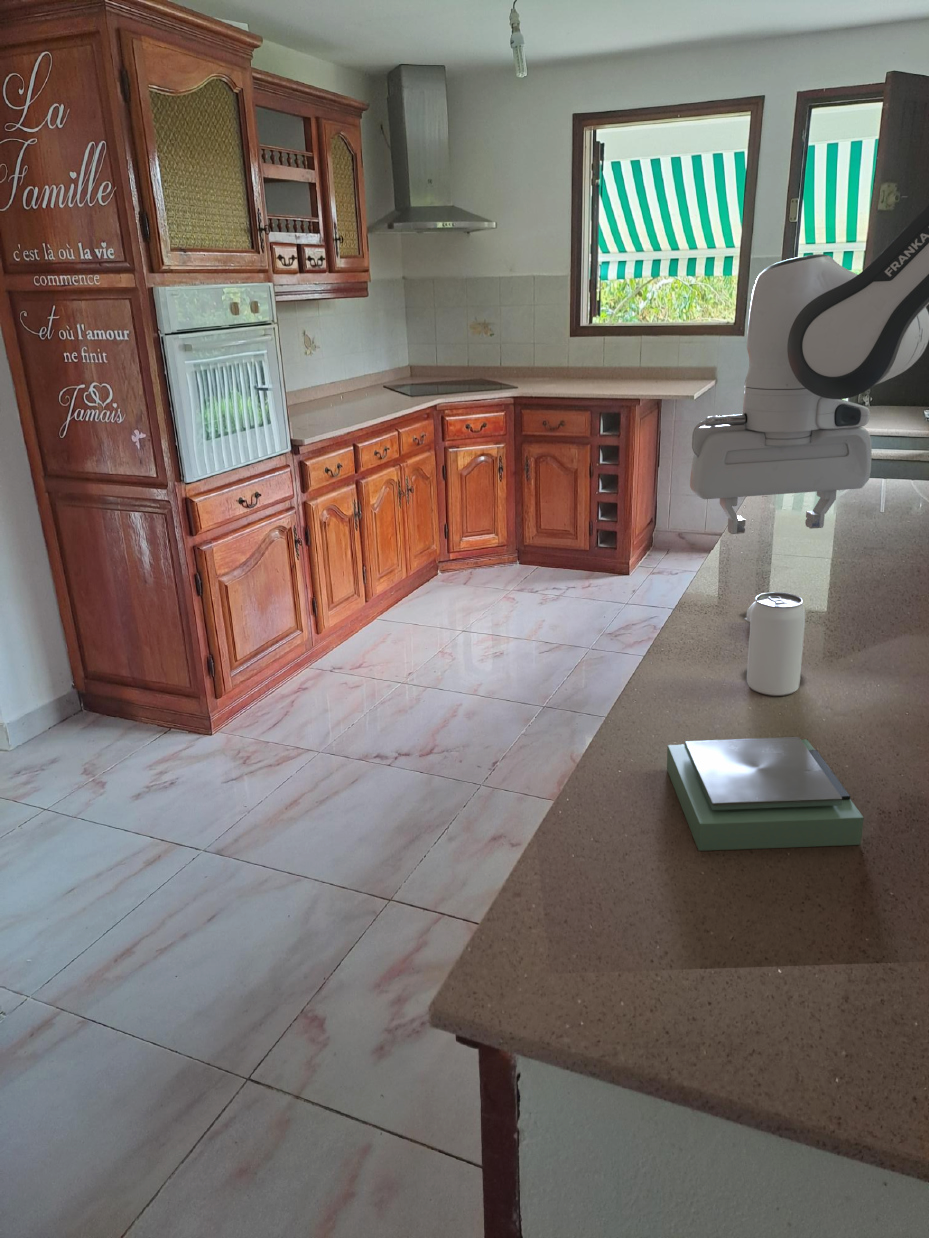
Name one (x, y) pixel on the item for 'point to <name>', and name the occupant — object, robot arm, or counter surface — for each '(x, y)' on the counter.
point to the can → (776, 644)
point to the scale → (762, 815)
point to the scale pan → (760, 774)
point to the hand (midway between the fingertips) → (775, 530)
